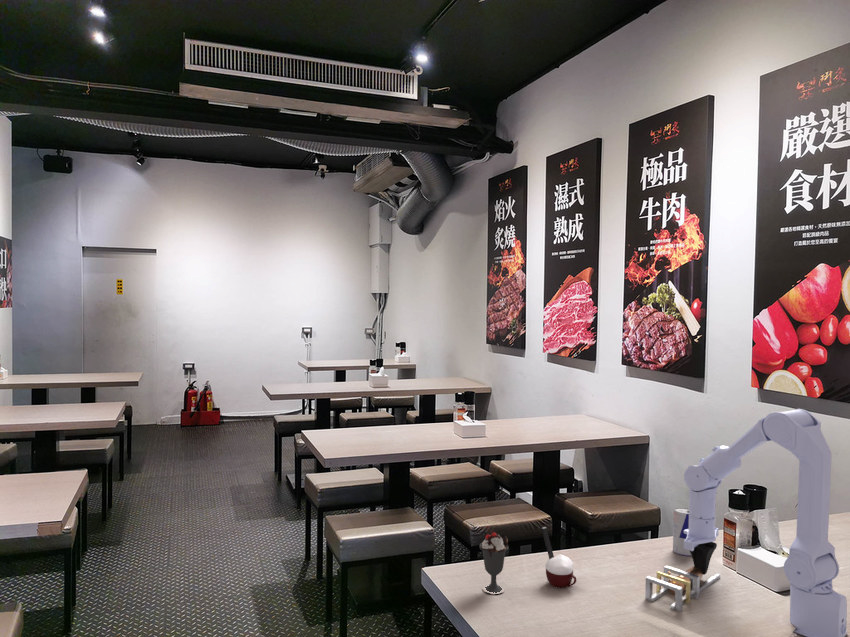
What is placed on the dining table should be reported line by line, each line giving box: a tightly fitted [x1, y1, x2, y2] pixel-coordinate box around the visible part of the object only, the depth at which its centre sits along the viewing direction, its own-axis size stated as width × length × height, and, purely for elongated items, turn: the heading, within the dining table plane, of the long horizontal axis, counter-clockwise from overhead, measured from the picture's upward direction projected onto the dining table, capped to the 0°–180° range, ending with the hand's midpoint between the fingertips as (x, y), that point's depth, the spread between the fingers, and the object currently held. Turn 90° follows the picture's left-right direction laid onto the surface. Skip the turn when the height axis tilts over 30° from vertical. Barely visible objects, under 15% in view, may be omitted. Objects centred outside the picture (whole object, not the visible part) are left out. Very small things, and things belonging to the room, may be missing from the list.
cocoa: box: [541, 526, 577, 589], centre depth 143 cm, size 10×6×12 cm, turn 18°
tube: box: [668, 565, 703, 596], centre depth 140 cm, size 12×3×3 cm, turn 133°
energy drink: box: [672, 507, 692, 557], centre depth 160 cm, size 5×5×12 cm
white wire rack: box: [645, 565, 721, 612], centre depth 139 cm, size 8×24×6 cm, turn 133°
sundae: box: [479, 525, 509, 593], centre depth 139 cm, size 7×7×15 cm
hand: (701, 572), depth 144 cm, fingers closed
